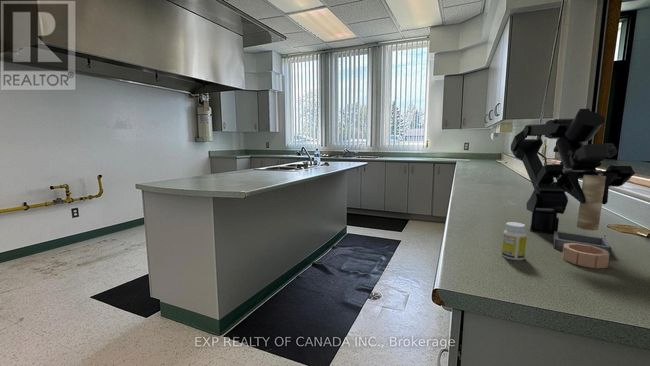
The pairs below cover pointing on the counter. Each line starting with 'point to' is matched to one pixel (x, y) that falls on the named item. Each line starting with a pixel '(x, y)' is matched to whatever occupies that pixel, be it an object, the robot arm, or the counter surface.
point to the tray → (580, 240)
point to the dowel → (591, 202)
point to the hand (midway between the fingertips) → (594, 203)
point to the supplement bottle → (514, 241)
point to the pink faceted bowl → (585, 255)
